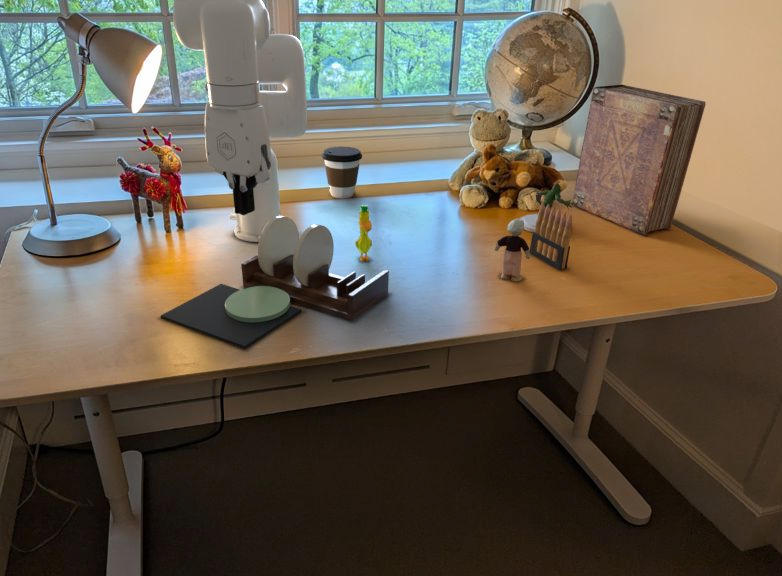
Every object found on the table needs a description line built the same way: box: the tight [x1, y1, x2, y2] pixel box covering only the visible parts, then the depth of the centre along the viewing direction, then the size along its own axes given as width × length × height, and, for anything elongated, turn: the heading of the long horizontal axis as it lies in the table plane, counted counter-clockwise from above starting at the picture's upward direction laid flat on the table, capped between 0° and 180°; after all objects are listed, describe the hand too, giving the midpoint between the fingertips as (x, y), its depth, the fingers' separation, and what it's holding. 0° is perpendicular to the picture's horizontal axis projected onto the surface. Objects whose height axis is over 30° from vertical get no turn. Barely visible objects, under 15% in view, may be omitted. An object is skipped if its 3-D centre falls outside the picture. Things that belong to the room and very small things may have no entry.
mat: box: [160, 283, 303, 350], centre depth 118 cm, size 20×16×1 cm
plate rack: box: [240, 254, 390, 323], centre depth 126 cm, size 26×13×5 cm, turn 58°
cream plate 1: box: [257, 215, 300, 277], centre depth 127 cm, size 1×12×12 cm, turn 149°
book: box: [571, 84, 707, 237], centre depth 158 cm, size 25×9×30 cm, turn 28°
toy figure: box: [354, 204, 373, 263], centre depth 137 cm, size 7×4×12 cm, turn 13°
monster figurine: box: [519, 182, 573, 233], centre depth 157 cm, size 12×12×10 cm
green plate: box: [225, 286, 291, 322], centre depth 119 cm, size 1×12×12 cm
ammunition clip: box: [529, 201, 573, 271], centre depth 138 cm, size 11×2×12 cm, turn 26°
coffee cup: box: [321, 146, 363, 199], centre depth 175 cm, size 11×11×12 cm
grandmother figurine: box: [493, 218, 532, 283], centre depth 130 cm, size 8×4×13 cm, turn 71°
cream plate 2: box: [293, 224, 335, 287], centre depth 123 cm, size 1×12×12 cm, turn 149°
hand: (245, 212), depth 106 cm, fingers closed
